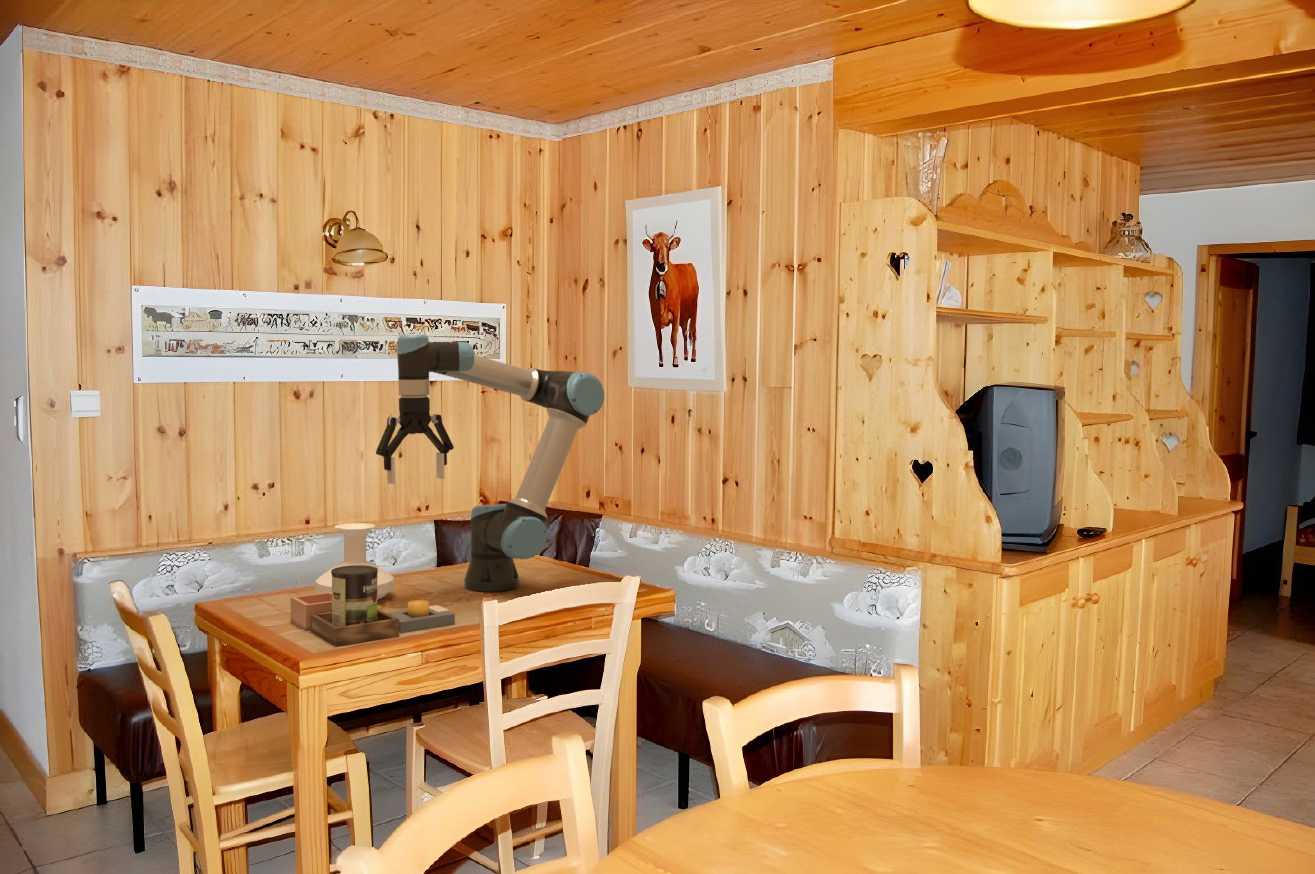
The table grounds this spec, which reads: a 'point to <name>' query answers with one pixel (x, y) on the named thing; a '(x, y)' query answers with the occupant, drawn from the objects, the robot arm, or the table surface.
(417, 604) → the button
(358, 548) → the candle holder
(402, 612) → the base
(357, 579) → the coffee can
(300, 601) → the terracotta square planter
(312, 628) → the dark wooden tray
